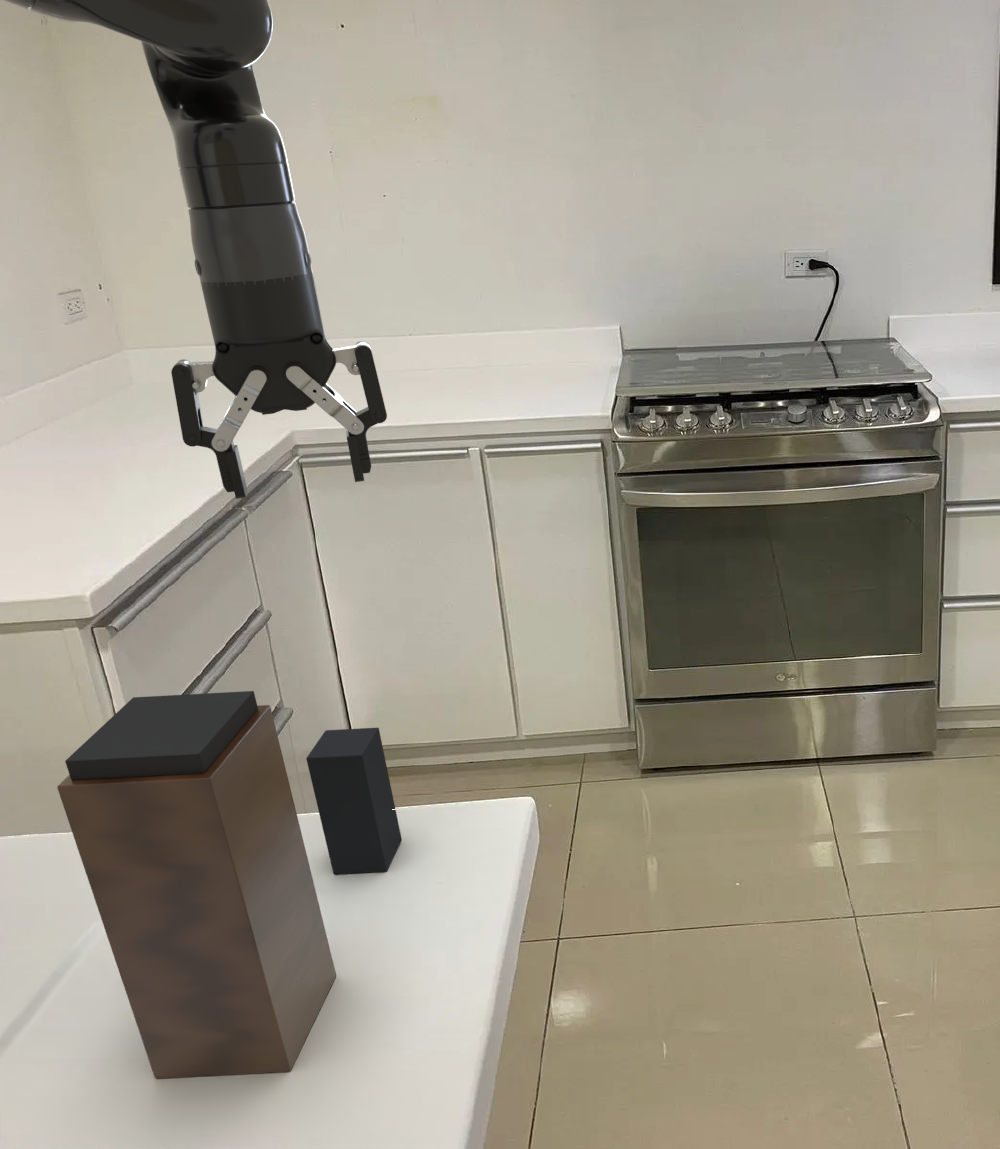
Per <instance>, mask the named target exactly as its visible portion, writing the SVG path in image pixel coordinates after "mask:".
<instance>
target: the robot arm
mask: <svg viewBox="0 0 1000 1149" xmlns="http://www.w3.org/2000/svg"><path fill="white" fill-rule="evenodd" d="M2 1H3V2H6V3H8V4H11V5H14V6H16V7H19V8H22V9H25V10H30V11H31V12H33V13H36V14H38V15H42V16H44V17H46V18H51V19H55V20H57V21H58V20H59V21H63V22H67V23H73V24H91V25H95V26H99V27H103V28H105V29H108V30H110V31H113V32H115V33H118V34H120V35H124V36H127V37H128V38H132V39H134V40H138V41H140V42H141V47H142V50H143V54H144V57H145V60H146V64H147V67H148V71H149V73H150V76H151V79H152V82H153V85H154V87H155V90H156V93H157V95H158V100H159V101H160V104H161V107H162V110H163V112H164V115H165V117H166V120H167V122H168V125H169V127H170V130H171V133H172V137H173V141H174V148H175V154H176V161H177V166H178V168H179V169H178V171H179V175H180V178H181V179H180V180H181V184H182V189H183V193H184V198H185V203H186V207H187V208H188V216H189V225H190V237H191V244H192V250H193V251H192V252H193V256H194V268H195V271H196V274H197V275H198V277H199V281H200V286H201V291H202V295H203V299H204V303H205V304H204V305H205V309H206V312H207V317H208V322H209V326H210V331H211V335H212V338H213V344H214V348H215V353H214V359H213V360H212V361H211V360H209V361H190V360H188V359H179V360H178V361H177V362H175V364H174V365H173V367H172V368H171V371H170V372H171V379H172V384H173V391H174V395H175V396H174V397H175V403H176V408H177V413H178V419H179V420H178V421H179V425H180V432H181V436H182V441H183V443H184V444H185V445H186V446H188V447H201V448H207V449H209V450H211V451H212V452H213V453H214V454H215V457H216V461H217V465H218V470H219V474H220V478H221V483H222V487H223V489H224V490H225V491H226V492H227V493H234V495H235V499H236V500H238V499H245V498H247V497H248V496H247V495H248V486H247V482H246V481H247V480H246V477H245V473H244V468H243V465H242V459H241V455H240V451H239V447H238V444H235V443H234V439H235V437H236V436H237V433H238V432H239V430H240V428H241V427H242V425H243V424H244V422H245V420H246V418H247V416H248V414H249V413H250V411H251V410H252V411H254V412H255V413H259V414H261V415H262V416H264V415H266V416H267V415H273V414H276V413H279V412H281V411H284V410H286V411H292V412H293V411H295V412H299V411H307V410H308V408H310V407H313V405H315V404H316V405H317V406H318V407H319V408H321V409H322V410H323V411H324V412H325V413H326V414H327V415H329V417H331V418H333V419H334V420H336V422H338V423H339V425H341V426H342V427H343V428H344V429H346V430H345V436H346V441H347V446H348V452H349V458H350V462H351V467H352V468H351V469H352V473H353V478H354V483H359V482H365V475H364V474H371V471H372V470H371V469H372V461H371V457H370V456H371V454H370V451H369V444H368V439H367V432H368V430H369V429H370V428H372V427H374V426H375V425H378V424H382V423H385V421H386V420H387V418H388V413H387V410H386V406H385V401H384V397H383V393H382V389H381V385H380V380H379V376H378V372H377V368H376V364H375V360H374V355H373V351H372V347H371V345H370V344H369V343H368V342H367V341H365V340H360V341H357V342H356V343H355V344H354V345H349V346H344V347H338V348H333V347H332V346H331V345H330V344H329V342H328V340H327V338H326V334H325V329H324V323H323V319H322V314H321V309H320V303H319V298H318V293H317V288H316V283H315V277H314V272H313V267H312V257H311V254H310V252H309V246H308V241H307V237H306V236H307V235H306V233H305V229H304V226H303V223H302V220H301V217H300V215H299V211H298V207H297V203H296V202H295V201H296V198H295V197H296V196H295V193H294V187H293V181H292V176H291V172H290V167H289V166H290V165H289V163H288V162H289V161H288V156H287V152H286V147H285V144H284V140H283V137H282V135H281V132H280V130H279V128H278V126H277V125H276V124H275V122H273V121H272V120H271V119H270V118H269V117H268V116H267V115H266V113H265V110H264V107H263V103H262V99H261V94H260V90H259V86H258V83H257V78H256V74H255V71H254V67H253V64H254V63H256V62H257V61H258V60H259V59H260V58H261V56H263V54H264V53H265V51H266V50H267V48H268V46H269V44H270V42H271V39H272V36H273V29H274V27H273V26H274V21H273V14H272V9H271V6H270V2H269V0H2ZM337 363H338V364H342V365H344V366H345V368H346V369H347V372H349V374H351V375H353V376H360V380H361V385H362V388H363V392H364V397H365V400H366V404H367V406H366V407H364V408H363V409H361V410H358V411H356V409H354V408H353V407H352V405H350V404H349V403H348V402H346V400H345V399H344V398H343V397H342V396H341V395H340V394H339V393H338V392H337V391H336V390H335V389H333V388H332V387H331V386H330V385H329V384H328V382H329V379H330V377H331V375H332V373H333V372H334V370H335V368H336V365H337ZM211 377H215V379H216V380H217V381H218V382H220V384H222V385H223V386H224V387H225V388H226V389H227V390H228V391H229V392H230V393H232V395H234V398H233V399H232V402H231V403H230V405H229V406H228V409H227V411H226V413H224V414H225V415H223V418H222V420H221V422H220V423H219V425H218V427H217V428H214V427H208V426H204V421H203V416H202V414H203V413H202V408H201V404H200V397H199V396H200V395H199V393H202V392H203V391H204V390H205V389H206V387H207V386H208V380H209V378H211Z"/></svg>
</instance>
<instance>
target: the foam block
mask: <svg viewBox="0 0 1000 1149" xmlns="http://www.w3.org/2000/svg"><path fill="white" fill-rule="evenodd" d="M381 737H382V736H381V732H380V727H363V728H360V727H359V728H346V729H345V728H344V729H342V728H341V729H327V730H324V732H323V733H322V735H321V736H320V737H319V739H318V741H316V744H315V745H314V746H313V747H312V749H311V750H310V752H309V753H308V755H307V756H306V759H305V760H306V763H307V768H308V771H309V776H310V780H311V784H312V789H313V793H314V797H315V802H316V806H317V809H318V814H319V818H320V822H321V827H322V831H323V835H324V840H325V844H326V848H327V852H328V857H329V860H330V865H331V869H332V873H333V875H343V874H344V875H345V874H346V875H347V874H363V873H365V874H366V873H384V872H387V871H388V869H389V868H390V865H391V863H392V861H393V859H394V857H395V855H396V853H397V851H398V849H399V847H400V845H401V843H402V841H403V840H402V834H401V829H400V824H399V819H398V815H397V809H396V805H395V804H396V803H395V801H394V800H395V799H394V795H393V790H392V785H391V781H390V780H391V779H390V776H389V771H388V766H387V762H386V761H387V760H386V756H385V752H384V747H383V741H382V738H381ZM392 809H396V810H392Z"/></svg>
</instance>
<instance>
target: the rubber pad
mask: <svg viewBox="0 0 1000 1149" xmlns="http://www.w3.org/2000/svg"><path fill="white" fill-rule="evenodd" d="M258 706H259V705H258V702H257V699H256V694H255V691H254V690H244V691H225V692H208V693H207V692H206V693H190V694H188V693H187V694H171V695H152V696H151V695H150V696H133V697H132V698H131V699H130V700H128V702H126V704H124V705H123V706H122V707H121V708H120V709H119V710H118V711H117V712H116V713H115V714H113V716H111V718H109V719H108V720H107V721H106V722H105V723H104V724H103V725H102V726H101V727H100V728H98V729H97V730H96V731H95V732H94V733H93V734H92V735H91V736H90V737H89V738H88V739H87V740H86V741H85V742H83V743H82V744H81V745H80V747H78V748H77V749H76V750H75V751H74V752H73V753H72V754H71V755H70V756H69V757H68V758H67V759H65V761H64V762H65V766H66V768H67V771H68V776H69V775H70V778H71V780H86V779H105V778H124V777H142V776H161V775H180V774H199V773H205V772H206V770H207V769H208V768H209V767H210V766H211V764H212V763H213V762H214V761H215V760H216V758H217V757H218V756H219V755H220V754H221V752H222V751H223V750H224V749H225V748H226V746H227V745H228V744H229V743H230V742H231V740H232V739H233V738H234V737H235V736H236V735H237V733H238V732H239V731H240V730H241V729H242V727H243V726H244V725H245V724H246V723H247V721H248V720H249V719H250V718H251V717H252V715H253V714H254V713H255V712H256V711H257V709H258Z"/></svg>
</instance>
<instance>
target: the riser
mask: <svg viewBox="0 0 1000 1149" xmlns="http://www.w3.org/2000/svg"><path fill="white" fill-rule="evenodd" d="M257 706H258V709H257V711H256V712H255V713H254V714H253V715H252V717H251V718H250V719H249V720H248V721H247V723H246V724H245V725H244V726H243V727H242V729H241V730H240V731H239V732H238V733H237V735H236V736H235V737H234V738H233V739H232V740H231V742H230V743H229V744H228V745H227V746H226V748H225V749H224V750H223V751H222V752H221V754H220V755H219V756H218V757H217V758H216V760H215V761H214V762H213V763H212V764H211V766H210V767H209V768H208V769H207V770H206V772H205V773H199V774H180V775H161V776H142V777H124V778H105V779H86V780H71V778H70V775H69V774H68V775H67V776H66V777H65V778H64V779H63V780H62V781H61V782H60V783H59V784H57V786H56V788H57V791H58V794H59V797H60V800H61V803H62V806H63V810H64V813H65V815H66V819H67V821H68V824H69V827H70V830H71V833H72V836H73V839H74V841H75V842H74V843H75V846H76V848H77V851H78V854H79V856H80V860H81V863H82V865H83V869H84V871H85V874H86V878H87V880H88V883H89V887H90V889H91V892H92V895H93V898H94V901H95V905H96V907H97V909H98V914H99V917H100V919H101V922H102V926H103V928H104V932H105V935H106V937H107V940H108V943H109V946H110V950H111V952H112V955H113V958H114V961H115V963H116V967H117V970H118V973H119V976H120V979H121V982H122V984H123V985H122V986H123V988H124V990H125V991H124V992H125V993H126V996H127V999H128V1002H129V1005H130V1008H131V1011H132V1015H133V1017H134V1021H135V1023H136V1027H137V1029H138V1032H139V1035H140V1038H141V1041H142V1044H143V1047H144V1050H145V1053H146V1057H147V1059H148V1063H149V1065H150V1068H151V1071H152V1074H153V1077H154V1079H168V1078H187V1077H207V1076H226V1075H227V1076H228V1075H243V1074H245V1075H246V1074H247V1075H248V1074H263V1073H279V1072H280V1073H283V1072H284V1073H285V1072H291V1071H292V1069H293V1067H294V1064H295V1063H296V1060H297V1058H298V1056H299V1054H300V1052H301V1050H302V1048H303V1045H304V1044H305V1042H306V1040H307V1037H308V1035H309V1034H310V1032H311V1029H312V1027H313V1025H314V1023H315V1021H316V1019H317V1017H318V1016H319V1012H320V1010H321V1008H322V1006H323V1004H324V1002H325V1000H326V998H327V996H328V994H329V992H330V989H331V987H332V986H333V984H334V982H335V979H336V977H337V972H336V968H335V964H334V960H333V955H332V952H331V948H330V943H329V939H328V935H327V932H326V927H325V924H324V919H323V915H322V911H321V908H320V907H321V906H320V903H319V898H318V894H317V891H316V890H317V889H316V886H315V883H314V878H313V875H312V870H311V866H310V862H309V858H308V854H307V850H306V845H305V841H304V838H303V834H302V829H301V826H300V821H299V817H298V814H297V810H296V805H295V801H294V797H293V792H292V789H291V785H290V780H289V777H288V773H287V768H286V765H285V761H284V760H285V759H284V756H283V752H282V748H281V744H280V740H279V735H278V731H277V728H276V724H275V720H274V715H273V712H272V711H273V710H272V707H271V705H270V704H263V705H262V704H261V705H257Z"/></svg>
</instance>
